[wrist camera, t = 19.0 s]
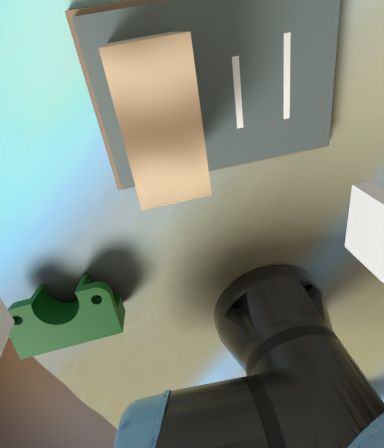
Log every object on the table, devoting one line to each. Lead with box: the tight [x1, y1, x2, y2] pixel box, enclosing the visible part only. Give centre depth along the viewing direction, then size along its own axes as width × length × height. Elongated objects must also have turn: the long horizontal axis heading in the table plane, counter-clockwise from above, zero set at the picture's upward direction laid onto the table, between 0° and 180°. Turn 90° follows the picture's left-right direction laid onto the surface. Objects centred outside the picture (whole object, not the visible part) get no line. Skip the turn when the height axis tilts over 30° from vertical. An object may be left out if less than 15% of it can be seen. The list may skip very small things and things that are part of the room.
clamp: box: [8, 273, 125, 359], centre depth 36 cm, size 12×6×9 cm, turn 94°
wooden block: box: [99, 32, 212, 210], centre depth 24 cm, size 10×5×9 cm, turn 9°
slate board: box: [65, 0, 340, 190], centre depth 29 cm, size 15×22×2 cm
